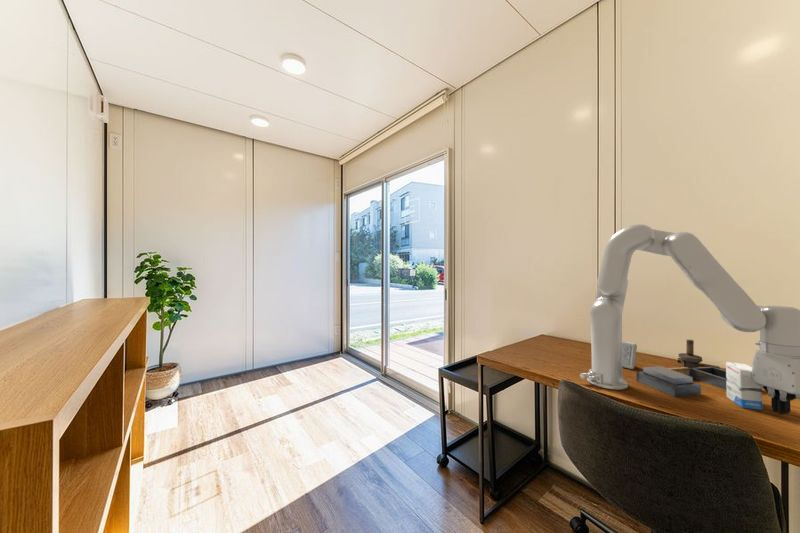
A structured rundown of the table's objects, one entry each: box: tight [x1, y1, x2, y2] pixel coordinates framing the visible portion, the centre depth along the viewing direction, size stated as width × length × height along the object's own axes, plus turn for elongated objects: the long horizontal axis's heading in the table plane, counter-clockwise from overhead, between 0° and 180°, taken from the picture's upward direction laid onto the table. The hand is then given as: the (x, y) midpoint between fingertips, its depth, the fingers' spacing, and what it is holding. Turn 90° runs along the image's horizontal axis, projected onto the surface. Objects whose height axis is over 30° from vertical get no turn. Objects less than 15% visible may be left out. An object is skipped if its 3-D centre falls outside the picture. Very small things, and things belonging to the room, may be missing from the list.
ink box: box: [725, 361, 764, 411], centre depth 95 cm, size 9×5×12 cm, turn 154°
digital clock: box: [622, 340, 638, 370], centre depth 132 cm, size 16×9×11 cm, turn 23°
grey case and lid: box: [636, 365, 727, 398], centre depth 108 cm, size 33×14×6 cm, turn 97°
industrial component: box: [677, 339, 703, 368], centre depth 125 cm, size 9×7×12 cm
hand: (780, 412), depth 86 cm, fingers closed
